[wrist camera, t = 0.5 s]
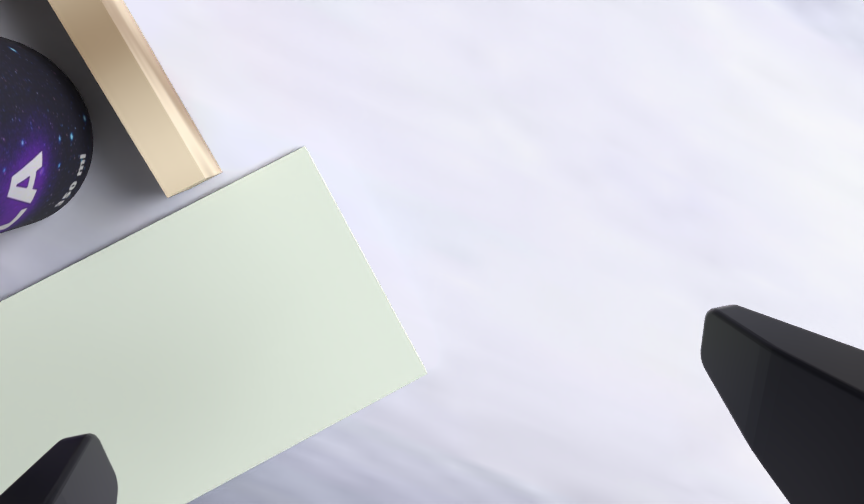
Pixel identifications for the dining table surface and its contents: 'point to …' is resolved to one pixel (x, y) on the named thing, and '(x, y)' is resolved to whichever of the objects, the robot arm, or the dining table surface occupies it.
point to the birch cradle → (138, 91)
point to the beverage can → (39, 137)
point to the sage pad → (203, 340)
